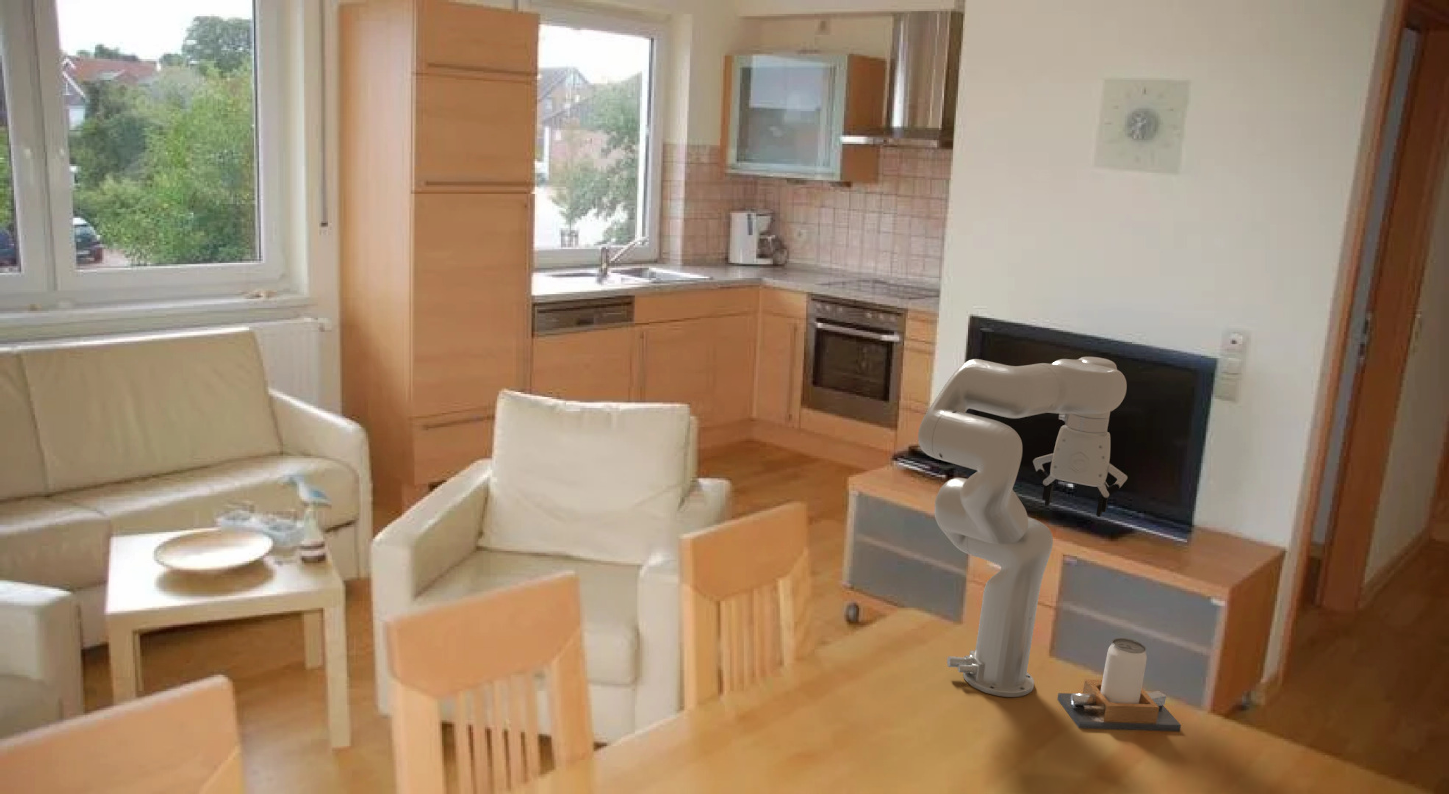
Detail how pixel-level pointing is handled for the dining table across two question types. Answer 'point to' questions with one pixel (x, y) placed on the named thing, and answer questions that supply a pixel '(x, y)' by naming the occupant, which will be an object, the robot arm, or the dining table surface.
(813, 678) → the dining table surface
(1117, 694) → the can
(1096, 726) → the base
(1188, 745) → the dining table surface
